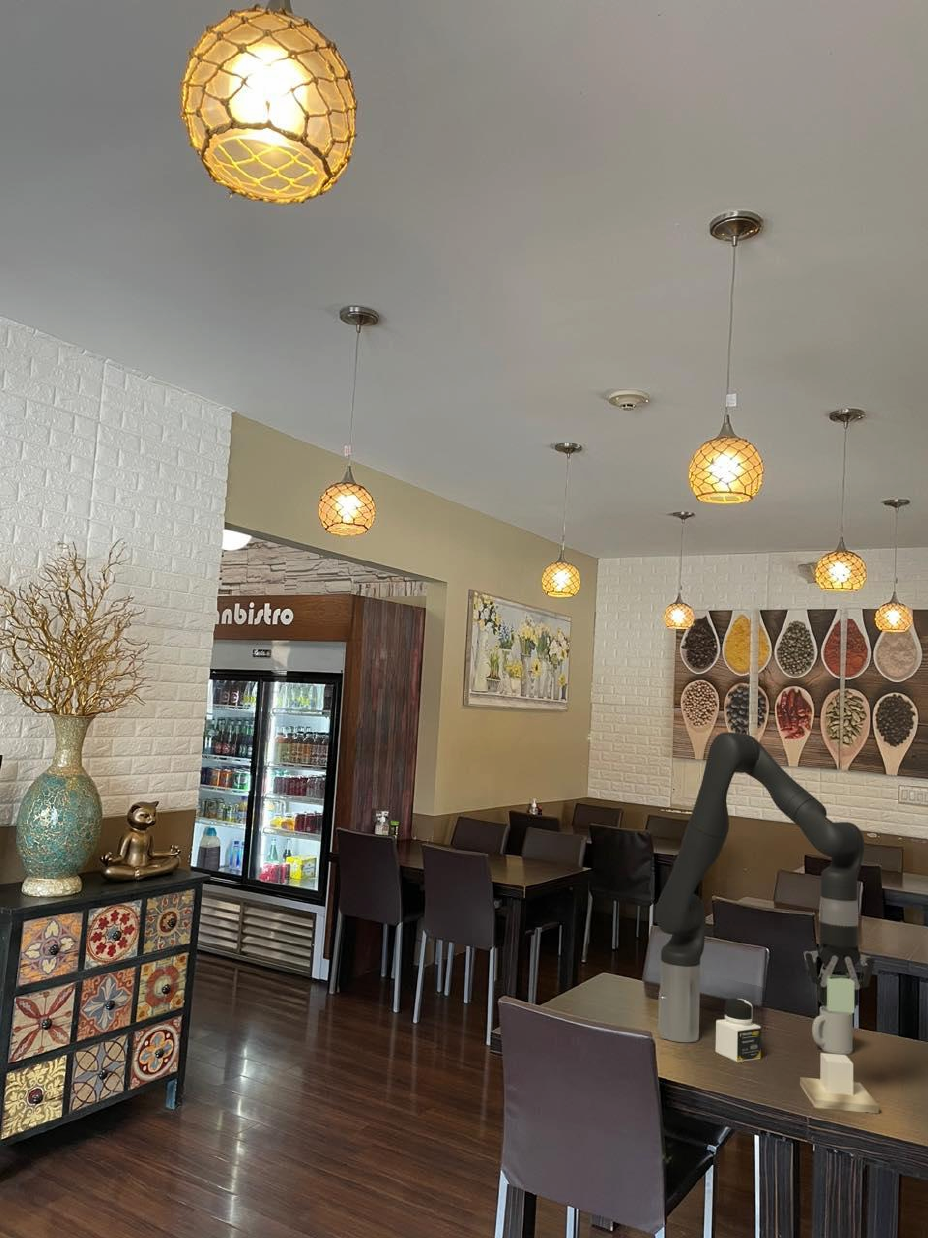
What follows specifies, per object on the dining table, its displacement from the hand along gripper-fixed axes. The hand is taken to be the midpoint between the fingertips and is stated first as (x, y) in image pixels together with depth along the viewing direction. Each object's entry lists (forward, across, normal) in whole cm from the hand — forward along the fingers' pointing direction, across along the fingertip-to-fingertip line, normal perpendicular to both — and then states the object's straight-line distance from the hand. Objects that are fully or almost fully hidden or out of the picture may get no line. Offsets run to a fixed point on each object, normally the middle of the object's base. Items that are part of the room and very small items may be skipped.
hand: (838, 1005), depth 190 cm
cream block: (+17, 0, +1) cm, 17 cm away
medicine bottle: (+18, -16, +21) cm, 32 cm away
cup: (+18, +7, +31) cm, 37 cm away
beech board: (+18, 0, 0) cm, 18 cm away
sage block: (0, 0, 0) cm, 1 cm away
